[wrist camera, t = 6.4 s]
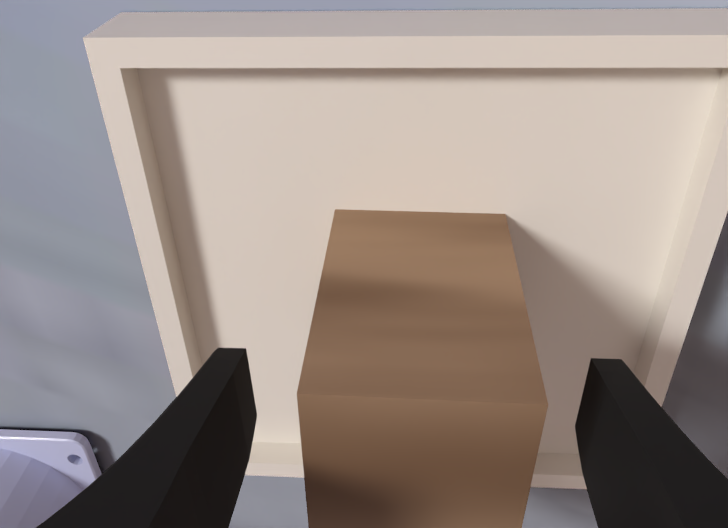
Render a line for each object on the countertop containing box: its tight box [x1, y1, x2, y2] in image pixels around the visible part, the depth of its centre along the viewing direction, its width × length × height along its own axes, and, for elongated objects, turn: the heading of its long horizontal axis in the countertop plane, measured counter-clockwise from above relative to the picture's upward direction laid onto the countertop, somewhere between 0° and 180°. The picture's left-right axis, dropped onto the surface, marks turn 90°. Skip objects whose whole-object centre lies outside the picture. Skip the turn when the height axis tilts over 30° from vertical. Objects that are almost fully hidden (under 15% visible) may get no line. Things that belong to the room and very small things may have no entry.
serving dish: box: [83, 8, 728, 489], centre depth 17 cm, size 13×13×2 cm
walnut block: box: [297, 209, 548, 528], centre depth 14 cm, size 4×4×6 cm
